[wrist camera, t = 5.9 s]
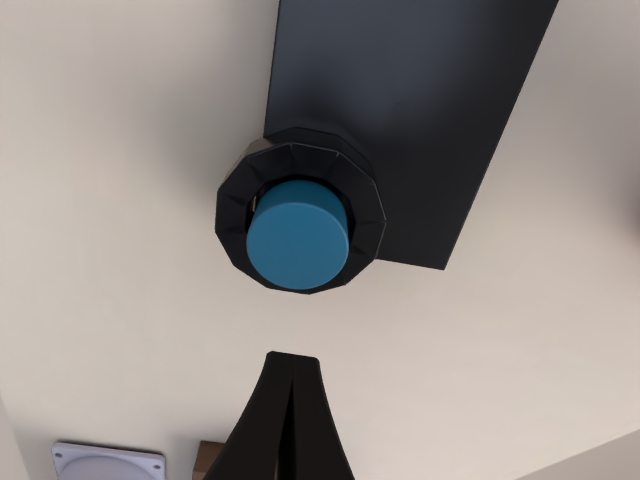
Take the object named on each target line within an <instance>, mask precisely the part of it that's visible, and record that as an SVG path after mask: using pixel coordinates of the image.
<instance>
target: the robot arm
mask: <svg viewBox="0 0 640 480" xmlns="http://www.w3.org/2000/svg"><path fill="white" fill-rule="evenodd" d="M51 452H52V456H53V460H54V464H55V468H56V472H57V476H58V480H165V458H164V457H163V456H162V455H158V454H150V453H142V452H133V451H125V450H117V449H109V448H101V447H93V446H85V445H76V444H68V443H60V442H58V443H55V444H54V445H53V446H52V448H51ZM276 462H277V477H276V480H355V478H354V476H353V474H352V471H351V469H350V466H349V463H348V461H347V458H346V456H345V453H344V450H343V448H342V445H341V442H340V439H339V436H338V433H337V430H336V427H335V424H334V421H333V418H332V415H331V411H330V408H329V404H328V401H327V397H326V393H325V389H324V385H323V380H322V375H321V370H320V363H319V360H318V359H317V358H315V357H309V356H302V355H295V354H289V353H282V352H275V351H271V352H269V353H267V355H266V360H265V363H264V366H263V369H262V372H261V375H260V377H259V380H258V382H257V384H256V387H255V389H254V391H253V393H252V395H251V397H250V399H249V401H248V403H247V405H246V407H245V409H244V411H243V413H242V415H241V417H240V419H239V421H238V422H237V424H236V426H235V428H234V429H233V431H232V433H231V434H230V436H229V438H228V439H227V441H226V443H225V445H224V446H223V448H222V450H221V451H220V453H219V454H218V456H217V458H216V459H215V461H214V462H213V464H212V465H211V467H210V468H209V470H208V471H207V473H206V475H205V476H204V477H203V479H202V480H274V477H275V468H276Z"/></svg>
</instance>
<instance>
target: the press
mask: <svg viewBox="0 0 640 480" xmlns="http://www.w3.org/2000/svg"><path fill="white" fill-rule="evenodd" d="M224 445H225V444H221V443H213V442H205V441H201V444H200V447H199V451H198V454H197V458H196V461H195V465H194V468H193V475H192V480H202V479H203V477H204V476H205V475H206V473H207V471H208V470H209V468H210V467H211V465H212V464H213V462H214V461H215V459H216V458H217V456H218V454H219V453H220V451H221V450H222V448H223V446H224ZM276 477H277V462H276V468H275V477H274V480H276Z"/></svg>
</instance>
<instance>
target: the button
mask: <svg viewBox="0 0 640 480" xmlns="http://www.w3.org/2000/svg"><path fill="white" fill-rule="evenodd" d="M246 246H247V252H248V256H249V258H250V261H251V263H252V264H253V266H254V268H255V269H256V270H257V271H258V272H259V273H260V274H261V275H262V276H263V277H264V278H265V279H267V280H268V281H270V282H272V283H274V284H276V285H278V286H281V287H285V288H289V289H309V288H314V287H317V286H320V285H322V284H324V283H326V282H328V281H330V280H331V279H332V278H334V277H335V276H336V275H337V274H338V273H339V272H340V270H341V269H342V268H343V266H344V264H345V262H346V260H347V257H348V252H349V241H348V230H347V219H346V213H345V210H344V207H343V205H342V203H341V202H340V200H339V199H338V197H337V196H336V195H335V194H334V193H333V192H332V191H330V190H329V189H328V188H326V187H324V186H323V185H321V184H318V183H315V182H312V181H307V180H291V181H287V182H283V183H280V184H278V185H276V186H274V187H273V188H271V189H270V190H269V191H267V192H266V193H265V194H264V195H263V197H262V198H261V199H260V201H259V203H258V205H257V208H256V211H255V214H254V216H253V219H252V222H251V225H250V228H249V231H248V235H247V242H246Z"/></svg>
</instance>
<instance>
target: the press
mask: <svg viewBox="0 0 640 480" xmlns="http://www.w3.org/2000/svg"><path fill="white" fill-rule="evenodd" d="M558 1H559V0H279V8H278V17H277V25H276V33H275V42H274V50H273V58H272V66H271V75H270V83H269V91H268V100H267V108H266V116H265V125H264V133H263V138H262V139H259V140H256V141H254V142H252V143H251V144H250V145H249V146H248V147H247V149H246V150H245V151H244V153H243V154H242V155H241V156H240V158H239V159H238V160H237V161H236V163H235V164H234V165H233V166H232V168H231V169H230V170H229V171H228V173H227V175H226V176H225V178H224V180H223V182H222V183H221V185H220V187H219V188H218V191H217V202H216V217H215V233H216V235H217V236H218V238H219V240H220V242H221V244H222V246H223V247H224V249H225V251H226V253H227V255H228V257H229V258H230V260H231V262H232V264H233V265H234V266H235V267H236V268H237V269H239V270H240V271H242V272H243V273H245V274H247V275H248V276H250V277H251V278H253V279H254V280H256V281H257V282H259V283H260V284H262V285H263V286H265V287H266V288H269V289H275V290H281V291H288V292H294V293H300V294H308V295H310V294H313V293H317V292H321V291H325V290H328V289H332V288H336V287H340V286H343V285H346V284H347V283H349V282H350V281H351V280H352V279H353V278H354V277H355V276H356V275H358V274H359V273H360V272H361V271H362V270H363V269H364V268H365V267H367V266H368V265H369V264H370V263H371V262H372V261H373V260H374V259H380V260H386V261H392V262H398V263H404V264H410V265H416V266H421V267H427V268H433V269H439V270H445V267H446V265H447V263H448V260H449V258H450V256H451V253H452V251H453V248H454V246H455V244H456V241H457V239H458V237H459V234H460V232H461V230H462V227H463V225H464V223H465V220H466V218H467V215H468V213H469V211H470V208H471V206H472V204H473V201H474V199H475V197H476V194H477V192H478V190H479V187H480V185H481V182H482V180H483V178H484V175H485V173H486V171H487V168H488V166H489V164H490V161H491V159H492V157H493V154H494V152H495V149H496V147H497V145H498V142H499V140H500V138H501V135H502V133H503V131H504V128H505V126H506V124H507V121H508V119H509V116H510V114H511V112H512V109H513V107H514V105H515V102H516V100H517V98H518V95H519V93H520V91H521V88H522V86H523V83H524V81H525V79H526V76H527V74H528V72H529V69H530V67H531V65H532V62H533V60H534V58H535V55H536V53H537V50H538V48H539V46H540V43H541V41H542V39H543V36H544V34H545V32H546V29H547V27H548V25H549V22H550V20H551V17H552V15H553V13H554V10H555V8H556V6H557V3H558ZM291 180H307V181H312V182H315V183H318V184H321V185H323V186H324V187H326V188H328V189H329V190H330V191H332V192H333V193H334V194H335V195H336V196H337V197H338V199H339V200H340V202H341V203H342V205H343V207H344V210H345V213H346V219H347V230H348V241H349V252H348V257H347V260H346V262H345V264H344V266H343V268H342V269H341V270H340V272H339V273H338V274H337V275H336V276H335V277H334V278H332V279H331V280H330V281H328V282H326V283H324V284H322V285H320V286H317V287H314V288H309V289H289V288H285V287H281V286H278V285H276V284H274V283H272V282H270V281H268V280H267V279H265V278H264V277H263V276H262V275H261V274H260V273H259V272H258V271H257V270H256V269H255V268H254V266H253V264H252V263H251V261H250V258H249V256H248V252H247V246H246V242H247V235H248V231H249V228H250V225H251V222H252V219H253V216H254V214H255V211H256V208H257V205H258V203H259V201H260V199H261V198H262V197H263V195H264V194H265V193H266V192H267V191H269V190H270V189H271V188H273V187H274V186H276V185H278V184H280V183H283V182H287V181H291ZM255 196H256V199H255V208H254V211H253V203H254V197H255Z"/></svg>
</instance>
